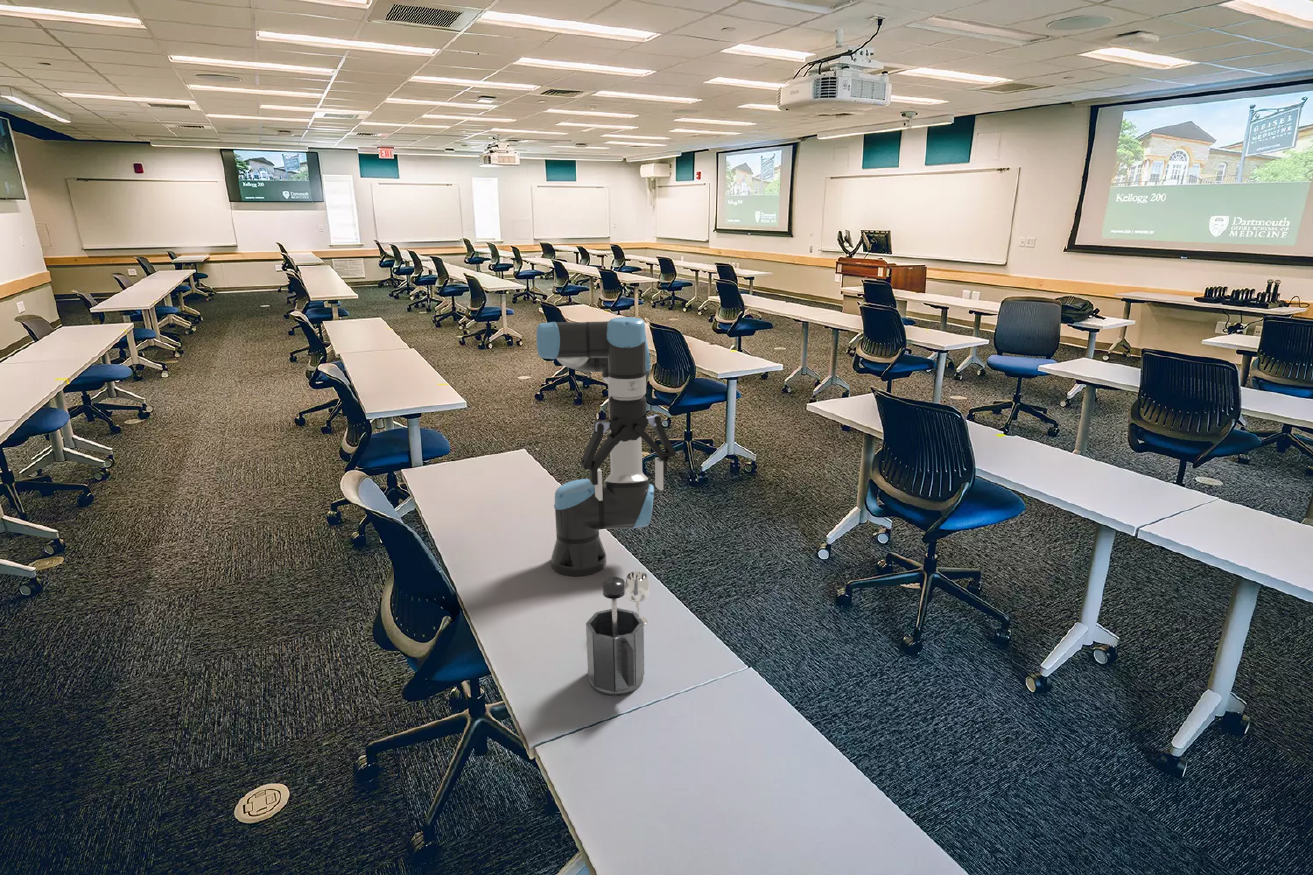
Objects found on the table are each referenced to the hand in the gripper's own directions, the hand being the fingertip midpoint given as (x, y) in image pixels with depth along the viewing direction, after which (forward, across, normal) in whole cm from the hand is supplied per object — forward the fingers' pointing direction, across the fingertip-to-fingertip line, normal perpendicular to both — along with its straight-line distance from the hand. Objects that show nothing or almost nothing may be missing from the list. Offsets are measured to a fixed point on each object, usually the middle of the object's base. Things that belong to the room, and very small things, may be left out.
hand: (629, 493), depth 145 cm
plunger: (+34, -8, -13) cm, 37 cm away
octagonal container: (+35, -8, -14) cm, 39 cm away
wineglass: (+36, +3, +5) cm, 36 cm away
